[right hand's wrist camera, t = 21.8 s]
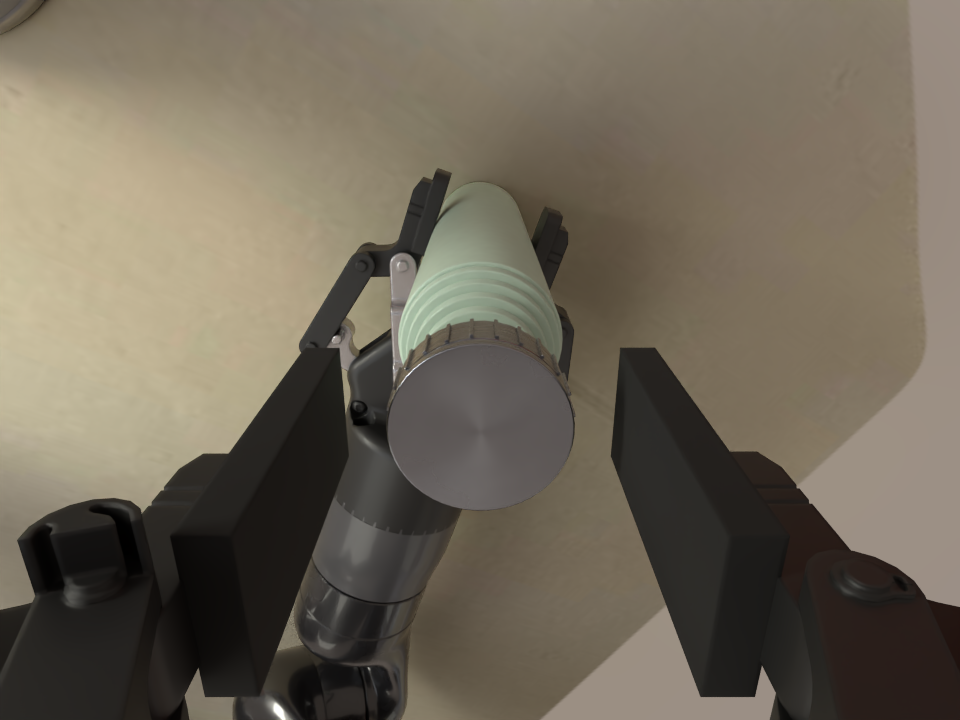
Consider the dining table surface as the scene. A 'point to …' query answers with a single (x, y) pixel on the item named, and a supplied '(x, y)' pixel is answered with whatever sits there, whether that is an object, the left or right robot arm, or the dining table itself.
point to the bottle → (480, 272)
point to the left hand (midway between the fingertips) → (498, 193)
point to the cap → (480, 416)
